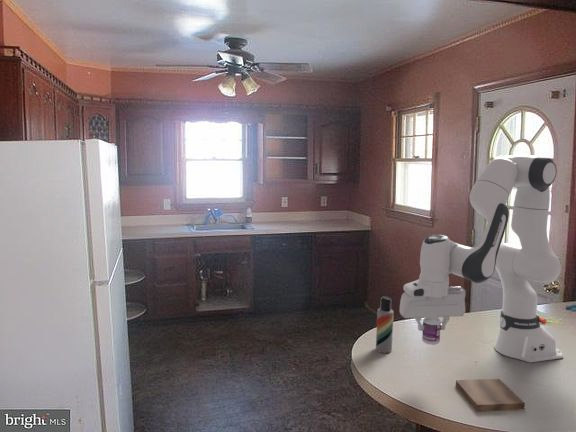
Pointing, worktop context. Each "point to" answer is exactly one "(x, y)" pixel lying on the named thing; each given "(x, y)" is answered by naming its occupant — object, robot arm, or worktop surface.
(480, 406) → the walnut board
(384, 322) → the lotion bottle
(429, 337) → the pill bottle
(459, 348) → the worktop surface
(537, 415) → the worktop surface
